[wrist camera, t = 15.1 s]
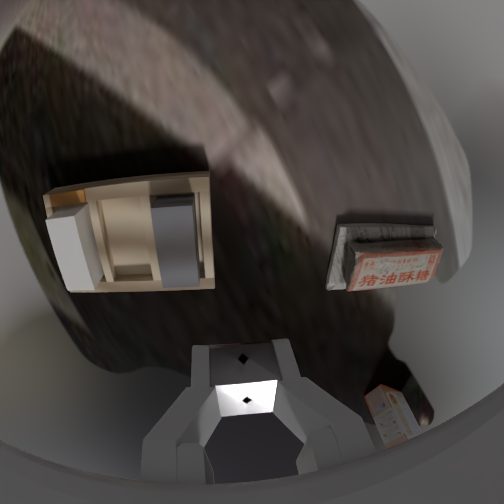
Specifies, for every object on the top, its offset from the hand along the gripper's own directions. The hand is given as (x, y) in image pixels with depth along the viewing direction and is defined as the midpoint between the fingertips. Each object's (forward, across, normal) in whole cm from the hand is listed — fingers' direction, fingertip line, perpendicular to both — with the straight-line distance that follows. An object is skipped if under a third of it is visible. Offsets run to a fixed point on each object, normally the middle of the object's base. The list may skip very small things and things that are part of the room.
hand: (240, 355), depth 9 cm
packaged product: (+25, -23, +11) cm, 36 cm away
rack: (+24, +11, +6) cm, 27 cm away
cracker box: (+24, -38, +53) cm, 70 cm away
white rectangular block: (+22, +17, +6) cm, 29 cm away
